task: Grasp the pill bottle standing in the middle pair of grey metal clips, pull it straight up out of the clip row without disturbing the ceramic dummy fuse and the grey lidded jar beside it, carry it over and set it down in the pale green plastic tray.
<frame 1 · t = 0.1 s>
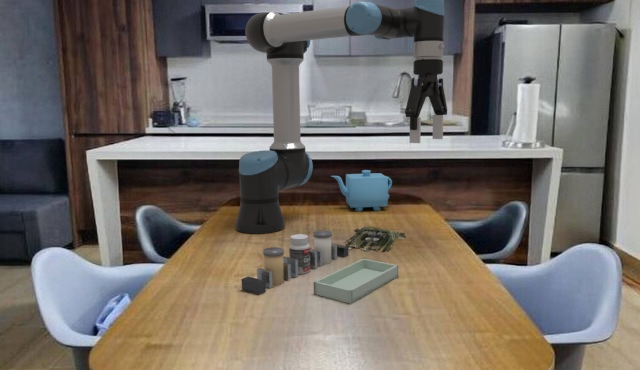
hand: (426, 141, 142), 28 cm above the table, fingers open, 13 cm apart
clip row: (300, 271, 125), on the table
circuit board: (373, 242, 151), on the table
pill bottle: (300, 272, 125), on the table
teapot: (361, 209, 192), on the table
grey lidded jar: (323, 261, 132), on the table
tray: (357, 284, 115), on the table
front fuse: (274, 282, 118), on the table
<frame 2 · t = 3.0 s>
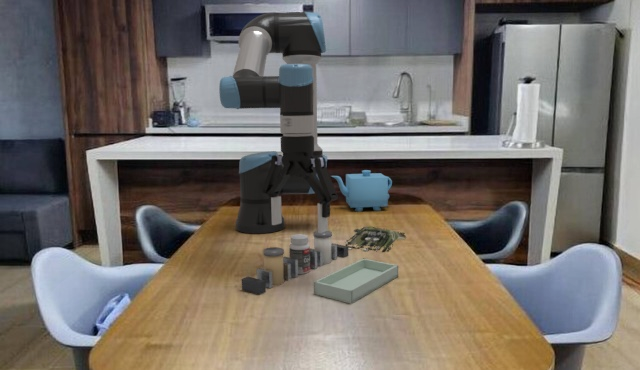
hand: (299, 227, 123), 10 cm above the table, fingers open, 13 cm apart
nothing on the table moved.
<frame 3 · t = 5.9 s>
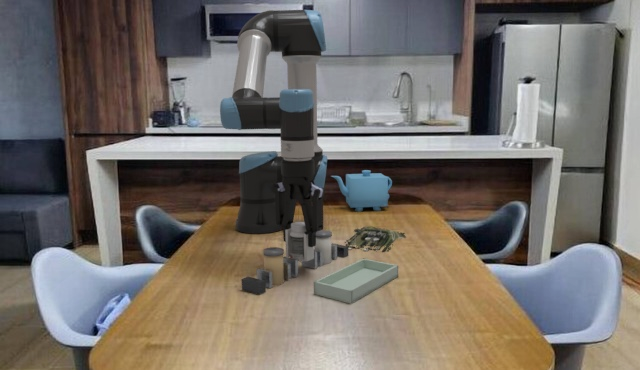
hand: (299, 257, 125), 3 cm above the table, fingers closed on pill bottle, 5 cm apart
pill bottle: (300, 259, 125), point 3 cm above the table, touching gripper
everything else where it was.
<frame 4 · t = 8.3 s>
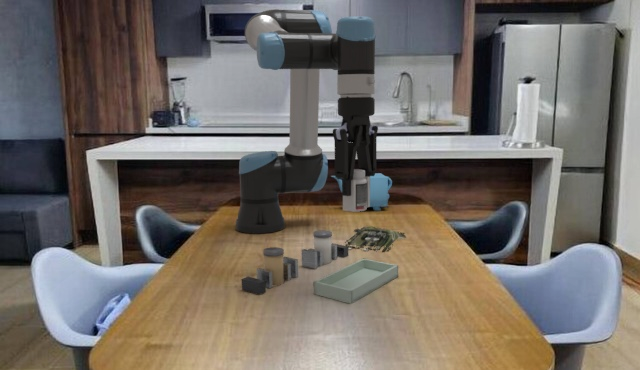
hand: (356, 208, 113), 17 cm above the table, fingers closed on pill bottle, 5 cm apart
pill bottle: (355, 210, 113), point 16 cm above the table, touching gripper
everything else where it was.
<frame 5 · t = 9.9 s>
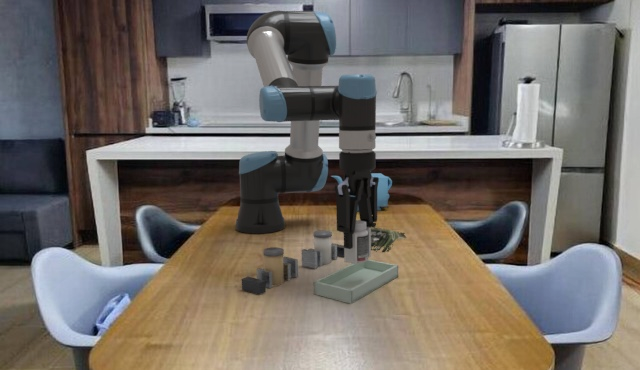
hand: (357, 259, 114), 6 cm above the table, fingers closed on pill bottle, 5 cm apart
pill bottle: (357, 261, 114), point 5 cm above the table, touching gripper
everything else where it was.
when the fingers open (2 cm above the table, at t = 11.2 s): pill bottle drops 1 cm, resting on tray.
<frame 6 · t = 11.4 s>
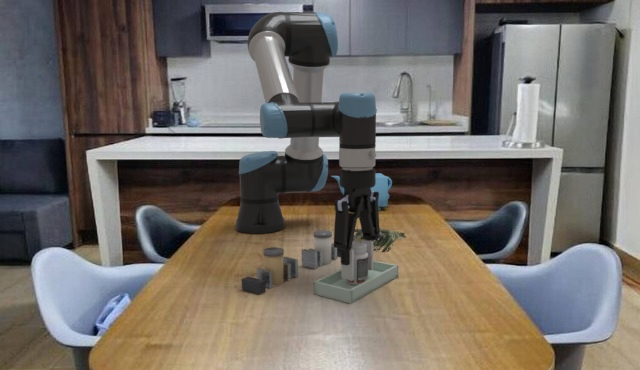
hand: (357, 273, 115), 3 cm above the table, fingers open, 7 cm apart
pill bottle: (356, 282, 115), resting on tray
everything else where it was.
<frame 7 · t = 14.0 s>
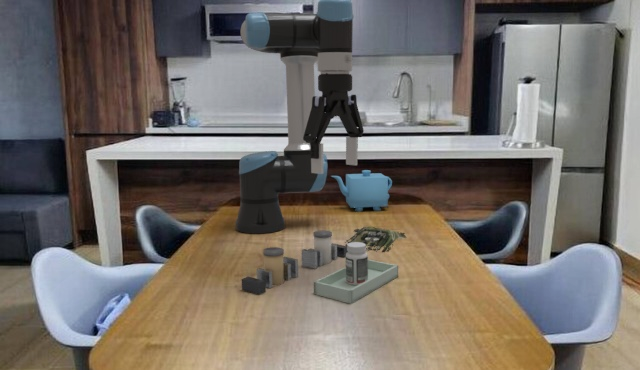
hand: (335, 169, 121), 24 cm above the table, fingers open, 13 cm apart
nothing on the table moved.
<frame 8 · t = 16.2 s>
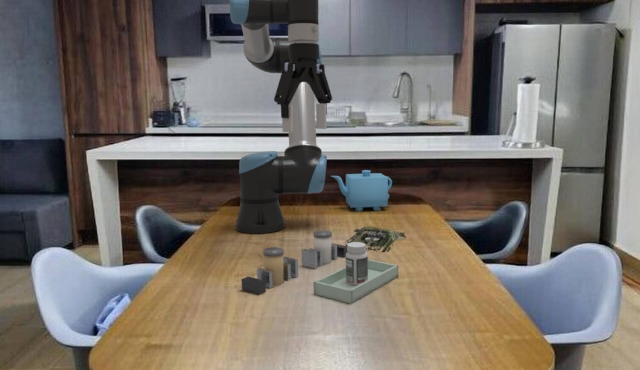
hand: (305, 130, 134), 32 cm above the table, fingers open, 13 cm apart
nothing on the table moved.
at the end: pill bottle inside the target area on the tray (0.2 cm from its centre), point 0.4 cm above the tray's base; grey lidded jar moved 0.0 cm from its start; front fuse moved 0.0 cm from its start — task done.
